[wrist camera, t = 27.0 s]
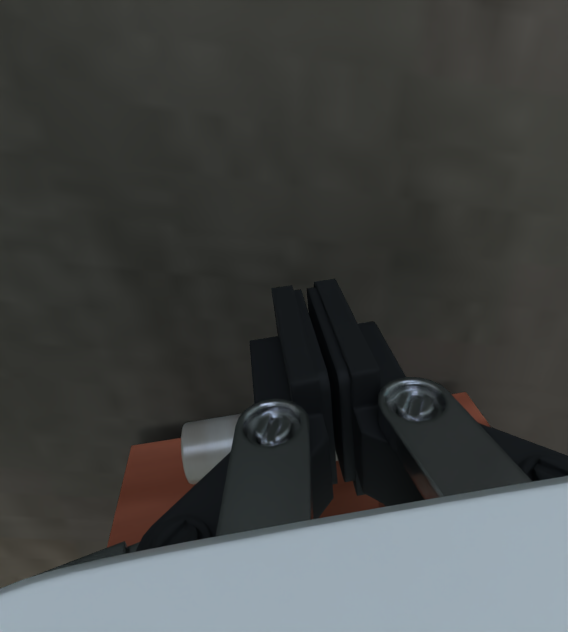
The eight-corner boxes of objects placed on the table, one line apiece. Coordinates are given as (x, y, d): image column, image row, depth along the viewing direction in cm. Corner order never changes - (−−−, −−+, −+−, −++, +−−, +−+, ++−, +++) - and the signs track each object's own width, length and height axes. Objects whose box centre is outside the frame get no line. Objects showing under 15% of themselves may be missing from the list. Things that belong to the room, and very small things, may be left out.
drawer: (89, 339, 16) (-11, 546, 9) (480, 281, 16) (656, 434, 10) (196, 611, 25) (186, 810, 19) (441, 568, 26) (517, 744, 19)
